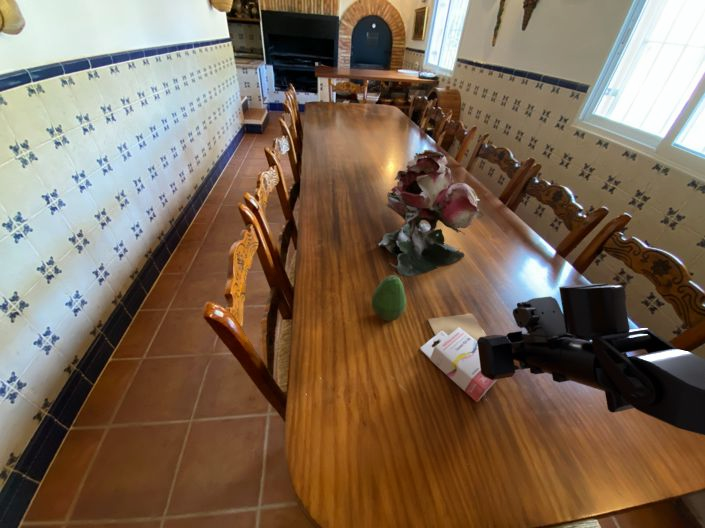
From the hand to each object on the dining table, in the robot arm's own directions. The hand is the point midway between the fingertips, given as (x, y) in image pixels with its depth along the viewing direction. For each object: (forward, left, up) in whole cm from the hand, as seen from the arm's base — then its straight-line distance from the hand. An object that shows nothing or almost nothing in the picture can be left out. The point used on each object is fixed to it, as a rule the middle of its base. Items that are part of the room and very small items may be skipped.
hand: (499, 342), depth 56 cm
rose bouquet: (+35, -29, -11) cm, 46 cm away
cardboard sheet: (+5, -4, -10) cm, 12 cm away
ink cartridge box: (-3, +3, -7) cm, 9 cm away
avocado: (+24, +2, -11) cm, 26 cm away
